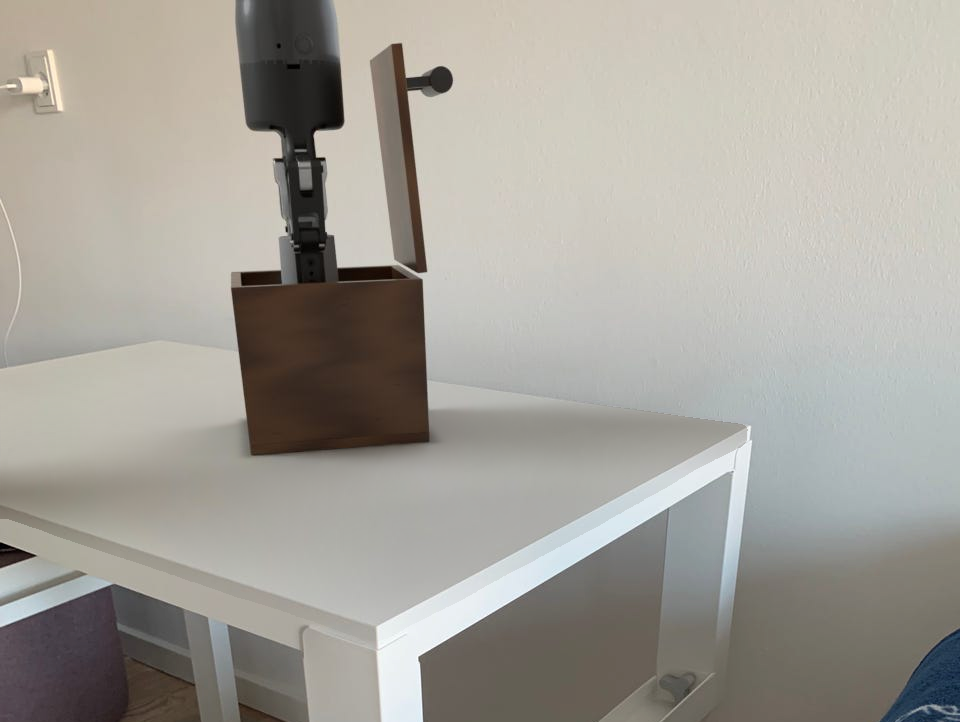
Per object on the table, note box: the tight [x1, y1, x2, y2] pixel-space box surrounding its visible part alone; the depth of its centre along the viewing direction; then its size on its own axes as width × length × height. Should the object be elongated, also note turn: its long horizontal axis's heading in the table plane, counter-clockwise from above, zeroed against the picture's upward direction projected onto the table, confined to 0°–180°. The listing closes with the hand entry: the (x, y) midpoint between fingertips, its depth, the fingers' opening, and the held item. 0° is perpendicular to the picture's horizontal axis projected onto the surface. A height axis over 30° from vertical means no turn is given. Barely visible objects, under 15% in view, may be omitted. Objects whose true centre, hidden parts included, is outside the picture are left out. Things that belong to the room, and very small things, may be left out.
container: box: [278, 234, 339, 284], centre depth 84 cm, size 5×5×15 cm
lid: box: [369, 42, 454, 274], centre depth 80 cm, size 15×13×5 cm
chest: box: [230, 264, 430, 456], centre depth 85 cm, size 15×13×13 cm
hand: (310, 297), depth 82 cm, fingers closed on container, 4 cm apart
